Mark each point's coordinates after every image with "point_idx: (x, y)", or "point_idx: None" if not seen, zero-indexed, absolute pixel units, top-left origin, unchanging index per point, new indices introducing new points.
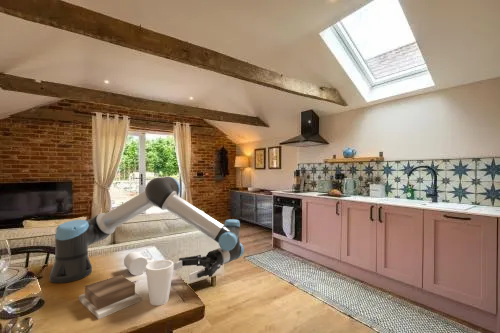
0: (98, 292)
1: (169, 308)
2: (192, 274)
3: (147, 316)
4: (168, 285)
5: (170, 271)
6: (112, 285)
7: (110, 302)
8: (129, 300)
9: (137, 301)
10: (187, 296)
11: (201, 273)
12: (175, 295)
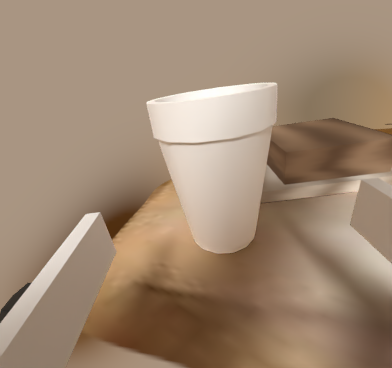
0: (281, 127)
1: (156, 235)
2: (78, 231)
3: (175, 198)
4: (175, 187)
5: (152, 129)
6: (307, 133)
7: None
8: None
9: None
10: (159, 318)
11: (1, 309)
12: (215, 282)
